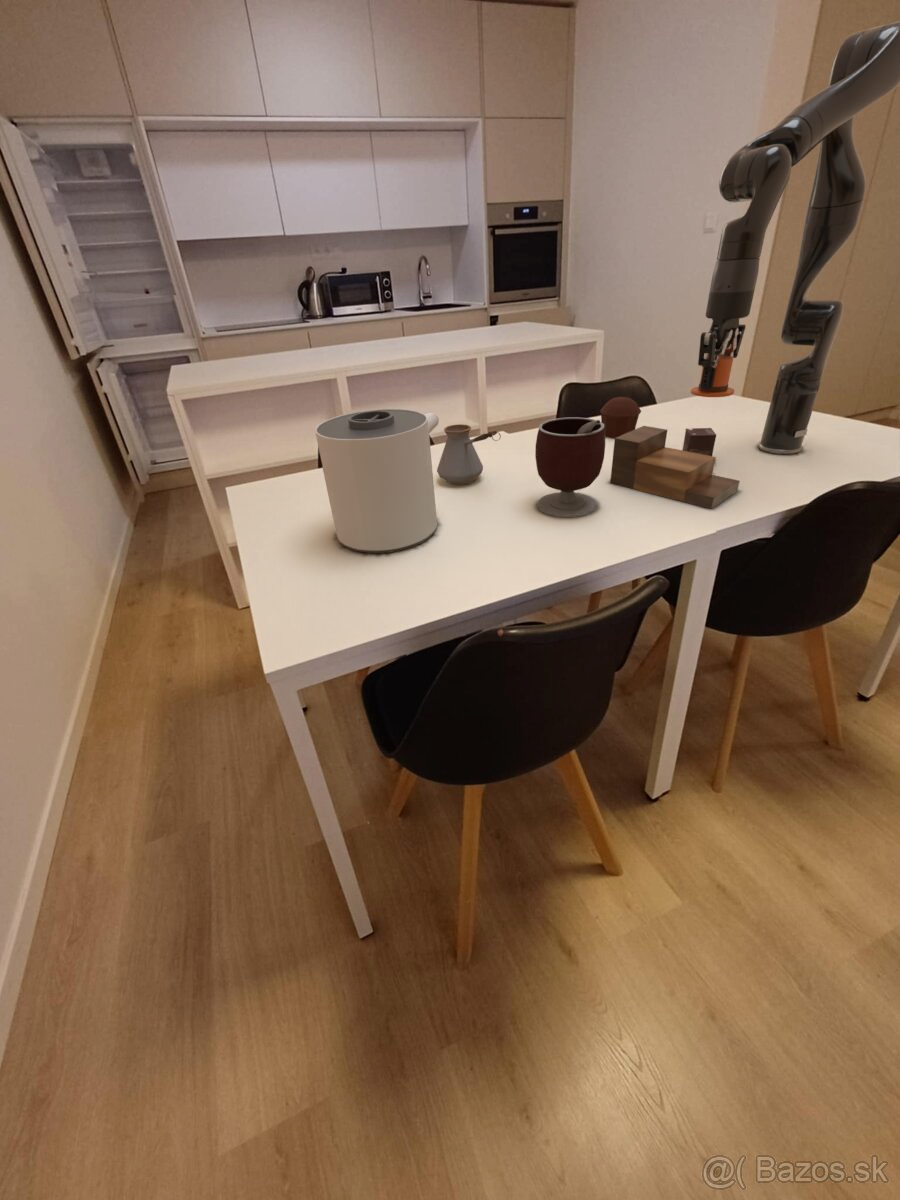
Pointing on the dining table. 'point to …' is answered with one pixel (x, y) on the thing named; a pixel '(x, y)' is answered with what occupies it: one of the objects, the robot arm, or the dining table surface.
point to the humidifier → (379, 478)
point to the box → (699, 441)
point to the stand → (667, 469)
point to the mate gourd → (569, 463)
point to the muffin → (619, 416)
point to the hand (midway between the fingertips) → (713, 385)
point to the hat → (718, 380)
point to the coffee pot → (461, 456)
